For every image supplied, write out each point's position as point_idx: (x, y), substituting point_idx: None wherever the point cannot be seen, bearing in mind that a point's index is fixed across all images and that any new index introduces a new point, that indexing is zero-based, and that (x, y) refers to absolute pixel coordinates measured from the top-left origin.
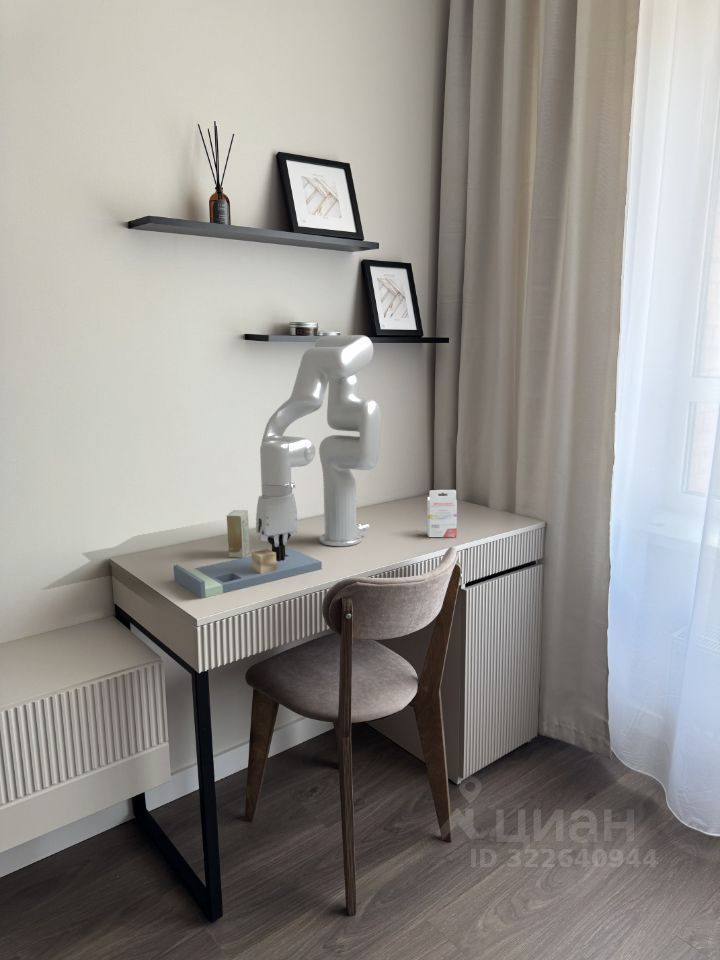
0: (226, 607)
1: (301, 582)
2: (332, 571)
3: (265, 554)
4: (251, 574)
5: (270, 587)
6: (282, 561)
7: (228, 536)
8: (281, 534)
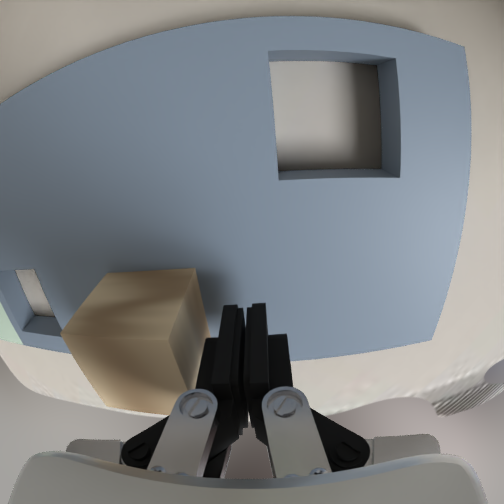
0: (56, 390)
1: None
2: (418, 352)
3: (135, 404)
4: None
5: None
6: (308, 248)
7: None
8: (302, 464)
